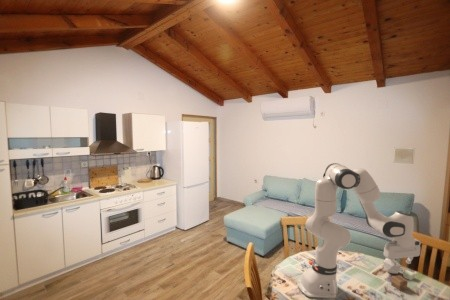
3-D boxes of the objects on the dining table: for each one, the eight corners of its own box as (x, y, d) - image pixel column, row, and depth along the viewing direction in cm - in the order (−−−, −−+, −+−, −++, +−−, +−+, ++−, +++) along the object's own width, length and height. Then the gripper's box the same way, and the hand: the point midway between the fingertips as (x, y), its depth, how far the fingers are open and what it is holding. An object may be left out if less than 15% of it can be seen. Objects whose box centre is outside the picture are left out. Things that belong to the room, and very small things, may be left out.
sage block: (411, 281, 130) (411, 275, 130) (403, 277, 134) (403, 271, 134) (414, 279, 132) (414, 273, 132) (406, 275, 136) (406, 269, 136)
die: (403, 278, 133) (404, 262, 132) (386, 276, 135) (387, 261, 134) (395, 270, 141) (396, 255, 141) (379, 268, 143) (380, 253, 143)
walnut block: (399, 291, 122) (399, 281, 122) (391, 285, 127) (391, 276, 127) (407, 290, 123) (407, 280, 123) (398, 284, 128) (399, 275, 128)
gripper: (390, 244, 119) (389, 269, 120) (423, 241, 122) (422, 265, 123) (381, 239, 125) (379, 262, 126) (412, 236, 128) (410, 259, 129)
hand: (400, 264), depth 124 cm, fingers open, 8 cm apart
